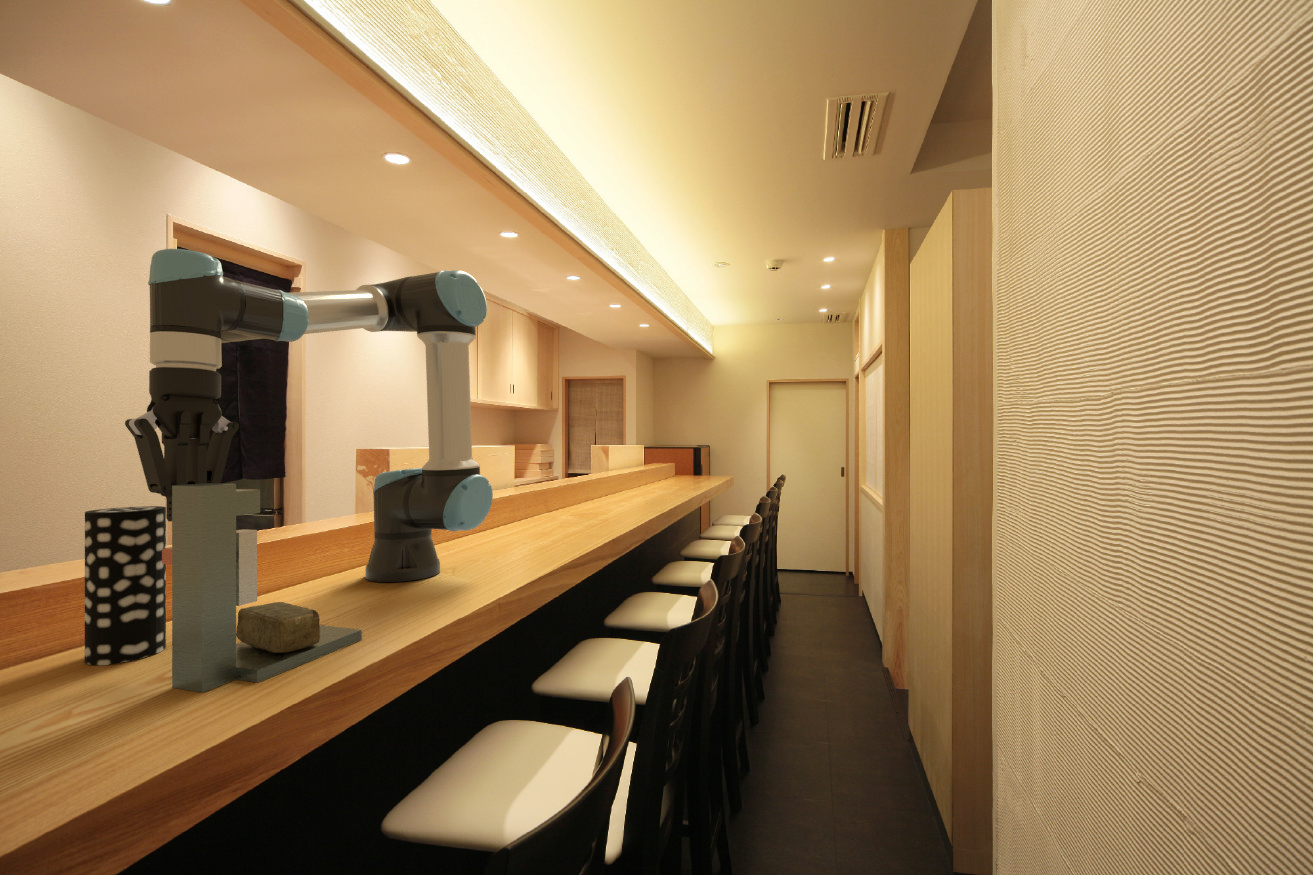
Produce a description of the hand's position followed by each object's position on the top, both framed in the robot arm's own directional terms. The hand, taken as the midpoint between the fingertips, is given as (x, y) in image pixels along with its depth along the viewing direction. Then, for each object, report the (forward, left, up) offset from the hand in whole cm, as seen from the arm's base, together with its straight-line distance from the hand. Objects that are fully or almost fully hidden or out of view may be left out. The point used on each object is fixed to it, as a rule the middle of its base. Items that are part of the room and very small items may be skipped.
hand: (185, 544), depth 78 cm
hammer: (0, +5, -7) cm, 8 cm away
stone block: (-5, +10, -14) cm, 18 cm away
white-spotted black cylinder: (0, -11, -16) cm, 19 cm away
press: (-4, +10, -16) cm, 19 cm away
